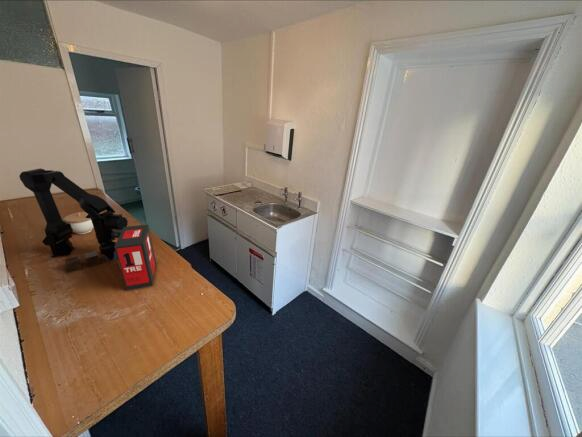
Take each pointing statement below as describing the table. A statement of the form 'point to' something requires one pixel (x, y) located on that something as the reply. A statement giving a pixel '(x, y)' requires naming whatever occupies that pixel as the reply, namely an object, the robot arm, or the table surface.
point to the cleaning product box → (136, 256)
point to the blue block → (109, 259)
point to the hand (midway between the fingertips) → (111, 256)
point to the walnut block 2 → (92, 258)
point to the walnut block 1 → (73, 263)
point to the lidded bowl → (79, 222)
